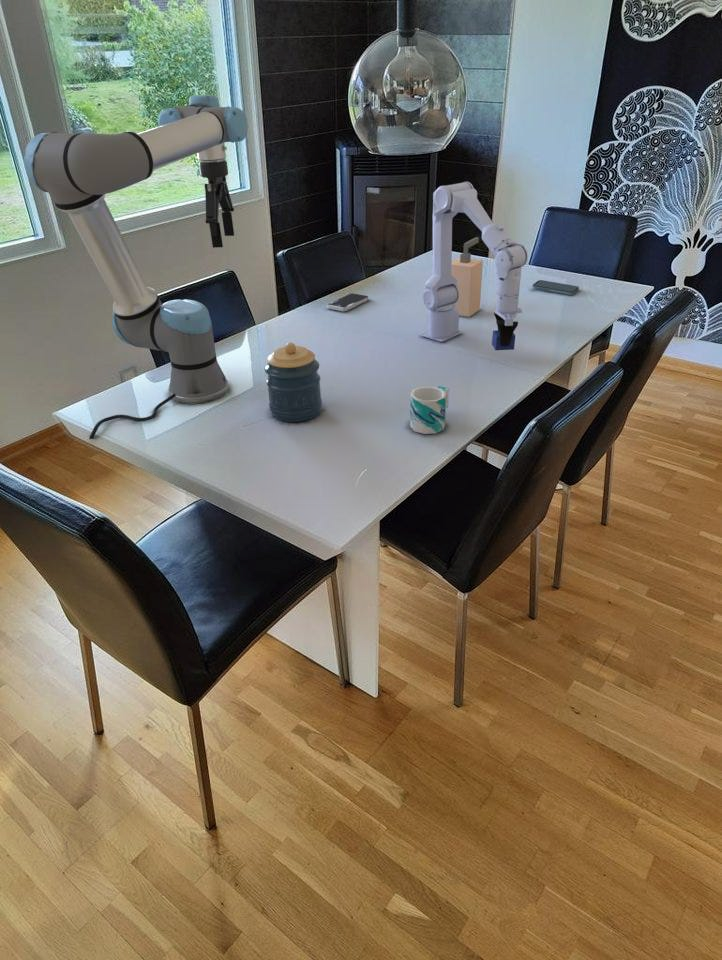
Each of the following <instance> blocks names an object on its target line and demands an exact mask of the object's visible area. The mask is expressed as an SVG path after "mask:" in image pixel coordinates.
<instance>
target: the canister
mask: <svg viewBox="0 0 722 960" xmlns="http://www.w3.org/2000/svg"><path fill="white" fill-rule="evenodd" d="M266 360H267V364H265V367H264V372H265V373H266V375H267V378H266V382H265V383H266V385H267V393H268V400H269V402H268V406H269V410H270V413H271V415H272V417H273V418H275V419H276V420H279V421H282V422H288V423H289V422H290V423H296V422H297V423H298V422H304V421H308V420H311V419H313V418H315V417H317V416H318V415H319V414H320V413H321V411H322V408H323V399H322V392H321V376H320V374H319V372H318V370H319V369H320V363H319V361H318V360H317V359H316V354H315V352H313V351H312V350H309V349H308V348H306V347H304V346H299V345H296V344H294V343H293V342H287V343H286V344H285V346H283V347H279V348H277V349H275V350H274V351H273V352H272V353H270V354H269V355H268V356H267V359H266Z"/></svg>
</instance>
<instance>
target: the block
mask: <svg viewBox="0 0 722 960" xmlns="http://www.w3.org/2000/svg"><path fill="white" fill-rule="evenodd" d="M491 338H492V339H491V345H492V347H493V349H494V350H495V351H512V350H515V344H516V334H515V333H514V332H513V335H512V338H511V341H510V344H509V346H501V343H500V333H499V330H498V329H497V330H492V337H491Z"/></svg>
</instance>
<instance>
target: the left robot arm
mask: <svg viewBox="0 0 722 960" xmlns="http://www.w3.org/2000/svg"><path fill="white" fill-rule="evenodd" d="M188 101H189V104H188V105H187V106H178V107H172V106H171V107H170V108H166V109H164V110H161V112H160V114H159V116H158V120H157V121H158V123H157V124H158V126H157V127H153V128H151V129H147V130H145V131H141V132H138V133H137V132H135V131H132V130H126V131H123V132H119V133H95V132H94V133H91V132H59V131H50V132H42V133H38V134H36V135H34V136H33V137H32V138H31V139H30V140H29V141H28V143H27V145H26V147H25V154H24V157H23V159H24V160H23V165H24V170H25V174H26V176H27V178H28V180H29V181H30V183H31V184H32V186H34V187H35V188H36V189H38V190H40V191H41V192H45V193H48V194H49V197H50V198H51V200H52V202H53V203H54V205H55V207H56V209H57V210H59V211H61V212H62V213H63V212H64V213H67V214H68V217H69V218H70V220H71V222H72V224H73V225H74V227H75V230H76V231H77V233H78V235H79V237H80V239H81V240H82V242H83V244H84V246H85V247H86V250H87V252H88V254H89V256H90V257H91V259H92V261H93V263H94V265H95V267H96V268H97V270H98V272H99V274H100V276H101V278H102V279H103V281H104V283H105V285H106V287H107V289H108V291H109V292H110V295H111V296H112V298H113V300H114V301H113V304H112V313H111V318H112V321H111V324H112V325H111V326H112V329H113V331H114V332H115V335H116V337H118V338H119V340H121V341H122V342H123V343H125V344H127V345H130V346H132V347H136V348H140V349H141V348H142V349H149V350H155V351H161V352H165V353H168V356H169V361H170V367H171V369H170V370H171V371H170V377H169V386H168V393H169V396H168V397H166V398H165V399H164V400H162V401H161V402H159V403H158V404H156V406H155V407H154V408H153V411H152V414H151V415H148V416H145V417H136V416H132V415H129V414H128V415H127V414H114V415H111V416H107V417H104V418H102V419H100V420H98V422H97V423H96V424H95V425H94V427H93V429H92V431H91V433H90V435H89V438H88V439H89V440H93V439H94V438H95V435H96V433H97V431H98V429H99V427H100V426H101V425H102V424H104V423H106V422H109V421H112V420H117V419H127V420H131V421H136V422H146V421H150V420H153V419H154V418H156V416H157V412H158V410H159V409H160V408H161V407H162V406H164V405H165V404H167V403H169V402H170V401H172V400H173V401H175V402H177V403H180V404H188V405H189V404H190V405H196V404H197V405H198V404H204V403H208V402H212V401H214V400H217V399H219V398H221V397H223V396H224V395H225V394H227V392H228V391H229V383H228V379H227V378H226V375H225V374H224V372H223V370H222V368H221V366H220V363H219V362H218V358H217V352H216V346H215V338H214V331H213V323H212V319H211V316H210V312H209V309H208V308H207V306H205V304H203V303H201V302H199V301H197V300H193V299H185V298H184V299H180V298H179V299H178V298H177V299H172V300H168V301H166V302H164V303H162V301H161V299H160V297H159V295H158V293H157V291H156V289H154V288H153V287H149V286H147V284H146V282H145V280H144V277H143V276H142V274H141V272H140V270H139V268H138V265H137V264H136V261H135V260H134V258H133V255H132V253H131V252H130V249H129V247H128V245H127V243H126V241H125V239H124V237H123V235H122V233H121V231H120V229H119V226H118V225H117V223H116V220H115V218H114V217H113V214H112V212H111V210H110V208H109V206H108V204H107V202H106V199H105V197H106V195H107V194H111V193H116V192H117V191H120V190H123V189H125V188H128V187H131V186H134V185H135V184H138V183H140V182H143V181H145V180H147V179H149V178H150V177H151V176H152V175H153V173H154V171H155V170H158V169H161V168H163V167H166V166H168V165H171V164H174V163H176V162H179V161H181V160H183V159H186V158H189V157H191V156H194V155H197V160H198V161H199V163H198V167H199V174H200V176H201V178H205V179H207V183H204V186H203V187H204V192H205V224H208V225H209V232H210V239H211V245H212V248H213V249H214V248H223V247H224V245H223V237H222V231H221V224H220V222H219V210H220V208H221V211H222V212H221V219H222V226H223V233H224V237H233V236H235V230H234V223H233V222H234V221H233V215H232V212H234V211H235V208H234V206H233V202H232V198H231V194H230V191H229V187H228V183H227V176H229V169H228V162H227V160H225V159H226V158H227V154H226V151H227V149H228V148H227V146H226V145H225V143H232V144H234V143H241V142H242V141H244V140H245V139H246V137H247V135H248V131H249V124H248V118H247V116H246V114H245V112H244V111H243V110H242V109H241V108H240V107H236V106H235V107H234V106H229V105H228V106H220V103H219V102H220V101H219V98H218V97H217V95H215V94H197V95H196V94H195V95H191V96H190V97H189V100H188Z"/></svg>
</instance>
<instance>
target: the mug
mask: <svg viewBox="0 0 722 960" xmlns="http://www.w3.org/2000/svg"><path fill="white" fill-rule="evenodd" d="M449 393H450V388H449V387H445V386H441V385H438V386H437V387H436V386H432V385H429V386H428V385H427V386H419V387H416V388H414V389H412V390H411V392H410V395H409V396H410V397H409V398H410V399H409V401H410V403H409V420H410V421H409V426H410V429H412V431H414V432H415V433H418V434H423V435H430V434H432V435H433V434H438V433H440V432H442V431H444V429H445V426H446V412H447V411H446V410H447V408H448V407H449Z"/></svg>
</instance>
